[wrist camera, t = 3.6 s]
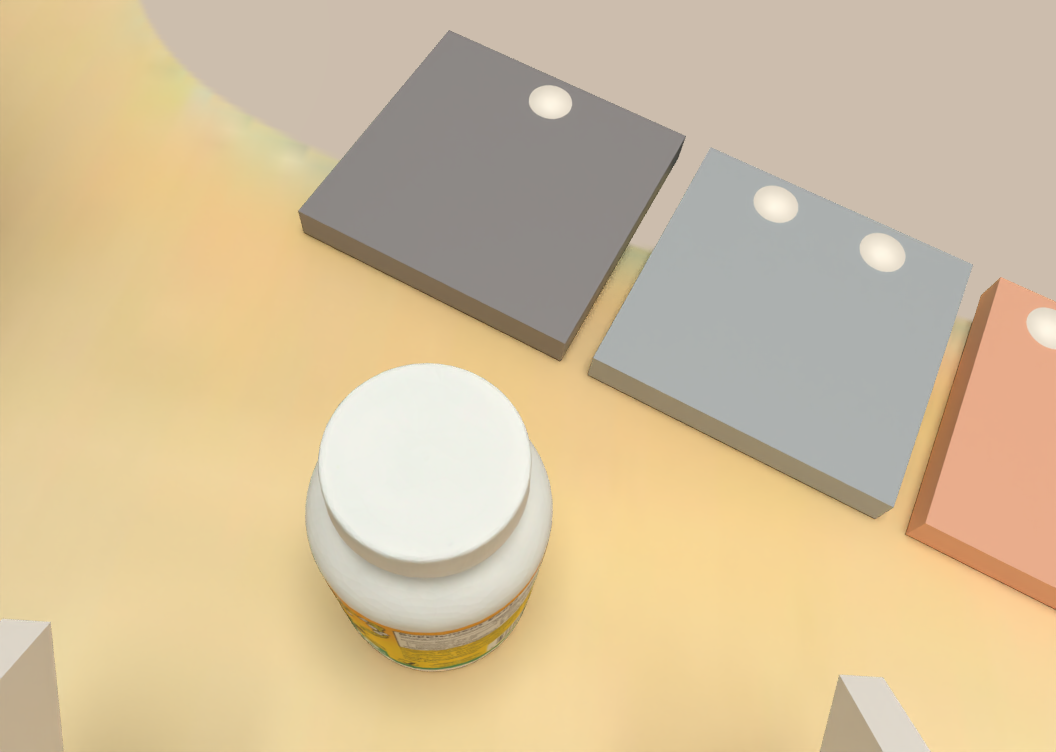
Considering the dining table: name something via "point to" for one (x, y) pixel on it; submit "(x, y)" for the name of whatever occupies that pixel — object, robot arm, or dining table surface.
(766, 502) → the dining table surface
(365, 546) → the supplement bottle
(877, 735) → the robot arm
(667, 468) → the dining table surface
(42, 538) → the dining table surface
